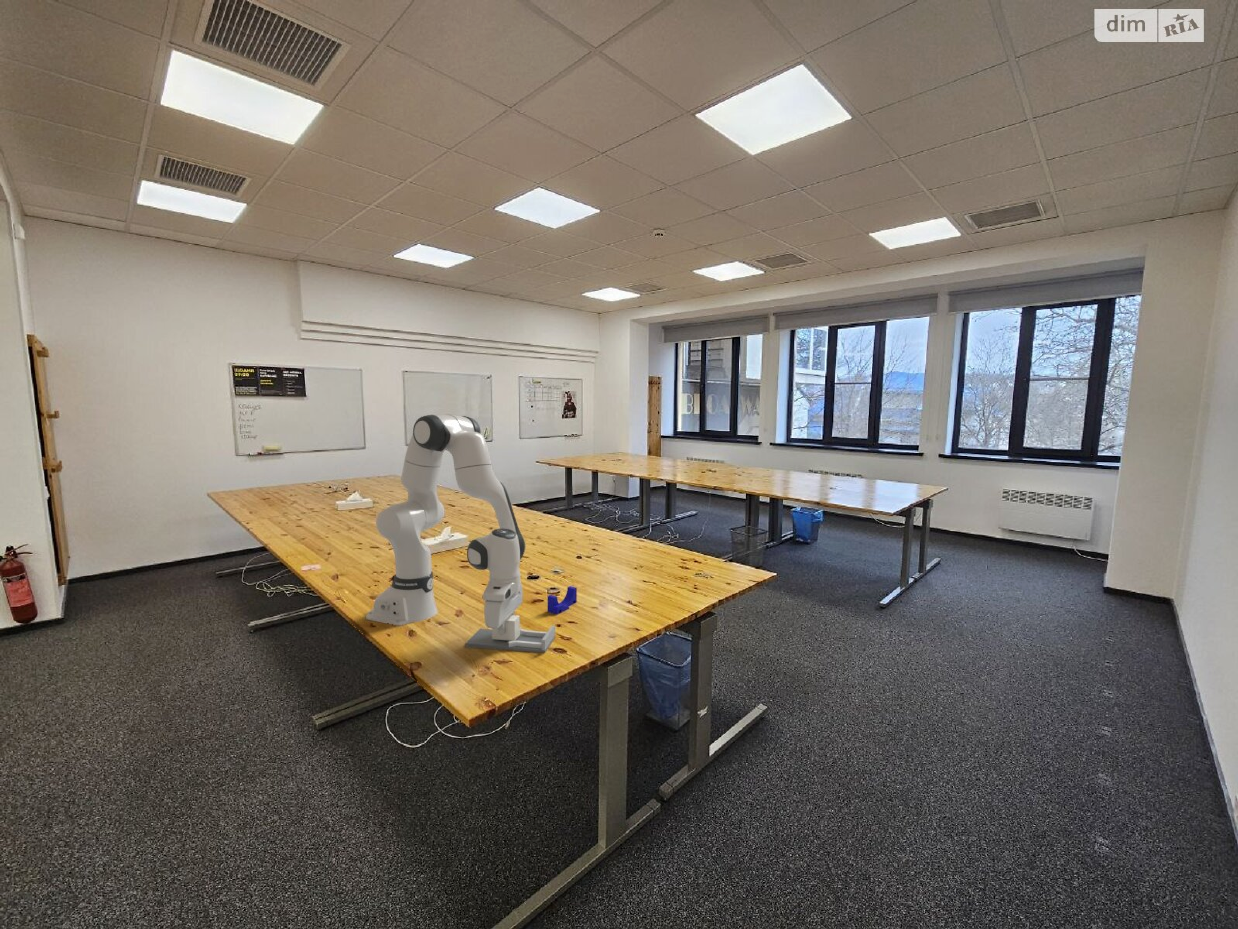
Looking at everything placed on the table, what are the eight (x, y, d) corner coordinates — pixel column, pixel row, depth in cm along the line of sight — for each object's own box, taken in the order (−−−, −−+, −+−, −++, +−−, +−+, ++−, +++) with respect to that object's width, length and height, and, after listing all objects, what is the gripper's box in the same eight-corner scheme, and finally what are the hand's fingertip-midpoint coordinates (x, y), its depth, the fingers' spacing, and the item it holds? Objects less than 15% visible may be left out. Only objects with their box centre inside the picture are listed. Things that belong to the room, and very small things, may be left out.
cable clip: (557, 616, 168) (557, 598, 168) (547, 613, 171) (547, 596, 170) (579, 605, 178) (579, 588, 178) (570, 602, 181) (570, 586, 180)
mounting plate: (465, 647, 145) (465, 633, 145) (480, 632, 155) (480, 619, 155) (545, 654, 141) (544, 640, 141) (555, 638, 151) (555, 625, 151)
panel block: (492, 639, 147) (491, 619, 146) (497, 633, 151) (497, 614, 150) (514, 641, 146) (514, 621, 145) (519, 635, 150) (519, 615, 149)
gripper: (508, 573, 157) (508, 615, 159) (479, 596, 137) (480, 644, 139) (527, 574, 156) (528, 616, 158) (501, 598, 136) (502, 646, 138)
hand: (505, 630), depth 148 cm, fingers closed on panel block, 4 cm apart
